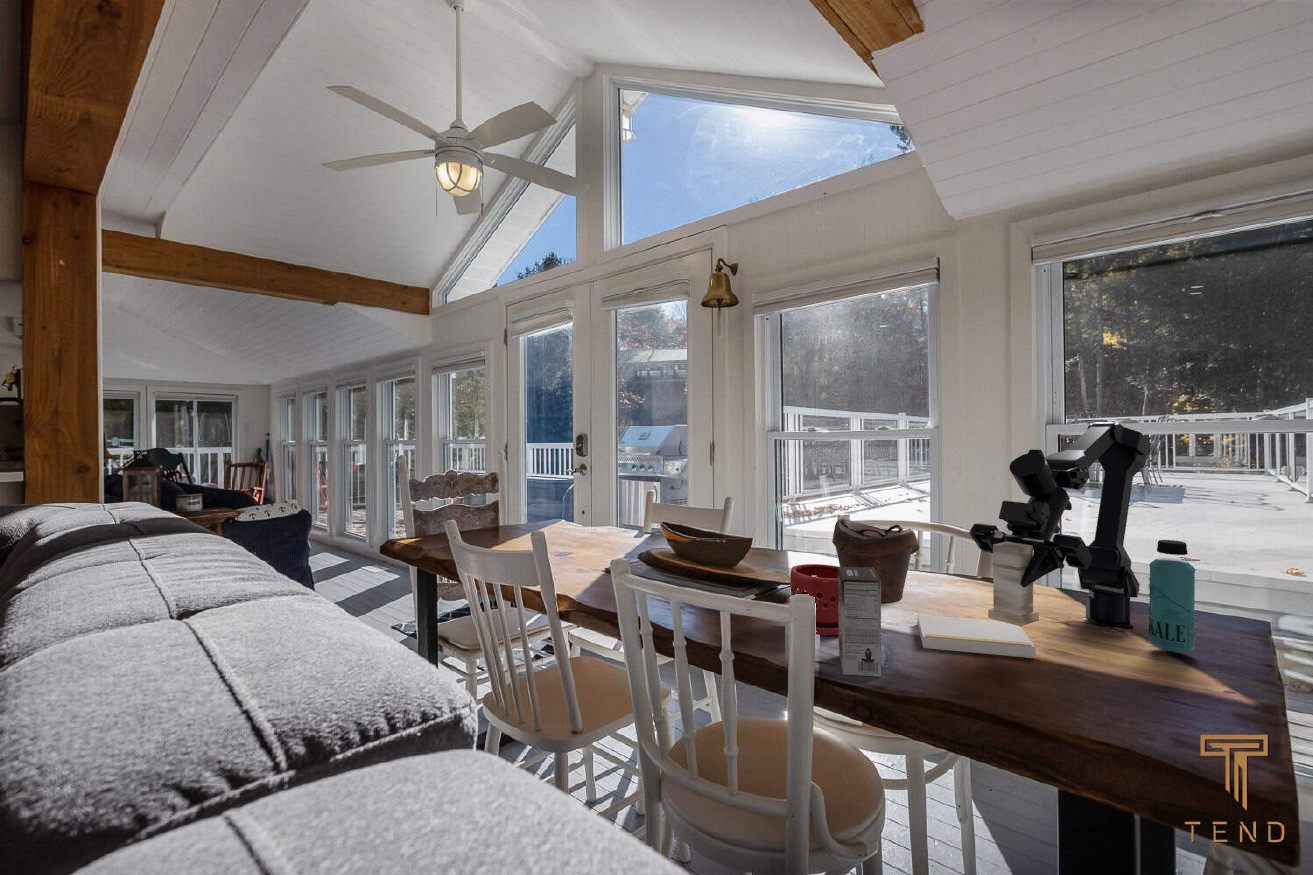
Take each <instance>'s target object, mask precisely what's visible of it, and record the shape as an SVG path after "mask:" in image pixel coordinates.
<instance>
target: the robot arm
mask: <svg viewBox="0 0 1313 875" xmlns="http://www.w3.org/2000/svg"><path fill="white" fill-rule="evenodd" d="M1087 426H1088V427H1087V430H1086V431H1085V432H1083V433H1082V434H1081V435H1080V436H1079V437H1077V439H1076V440H1074V442H1073V443H1072V444H1070V445H1069V447H1067V448H1066V449H1064V450H1063V451H1060V452H1055V453H1051V454H1049V455H1047V456H1045V455H1044V452H1043V450H1042V449H1031V448H1030V449H1029V450H1028V452H1027V453H1024V454H1022V455H1020V456H1018V457H1016V458H1015V459H1014V460H1012V461H1011V462H1010V463H1009V471H1010V473H1011V475H1012V477H1013V479H1014V480H1015V482H1016V483H1017V485H1018V487H1019V488H1020V490H1021V491H1022V493H1023V494H1024V495H1026V496H1028V497H1029V499H1028V501H1027V502H1022V501H1010V500H1003V501H1001V506H1000V509H999V515H998V519H999V520H1002V521H1004V522H1006V528H1007V530H1008V531H1011V534H1007V533H1006V532H1005V531H1002V530H999V528H998V527H997V525H995V524H988V523H979V522H978V523H974V524H973V525H972V526H971V528H970V530H969V533H968V534H969V536H971V538H972V540H973V541H974V542H975V544H976V545H977V547H978V548H979V550H981V551H983V552H984V553H990V554H993V545H994V544H998V543H1003V542H1013V543H1019V544H1026V545H1032V546H1033V557H1032V559H1031V561H1030V563H1029V565H1028V567H1027V569H1026V571H1025V573H1024V575H1023V577H1022V580H1021V585H1022V587H1027V586H1028V585H1030V584H1031V583H1033V584H1034V583H1035V582H1036V581H1037V580H1039V579H1040V578H1042V577H1044V576H1046V575H1048V574H1050V573H1052V572H1053V571H1055V570H1058V569H1061V570H1062V569H1065V564H1064V561H1065V563H1066V564H1067V565H1068V566H1069V567H1071V568H1077V574H1078V580H1079V585H1080V589H1081V590H1088V595H1086V596H1085V616H1086V618H1088V619H1089V620H1090V621H1091V622H1092V623H1094V625H1097V626H1109V627H1119V628H1120V627H1123V628H1134V627H1135V625H1134V623H1132V622H1131V598H1138V597H1139V592H1140V582H1139V581H1138V578H1137V577H1136V575H1135V573H1134V571H1133V570H1132V568H1131V567H1132V559H1131V558H1130V555H1128V553H1127V551H1126V549H1125V547H1124V543H1125V536H1126V529H1127V521H1128V515H1129V514H1128V513H1129V507H1130V501H1131V493H1132V489H1133V488H1132V486H1133V481H1134V477H1135V476H1136V475H1137V474H1138V473H1139V472H1140V471H1141V470H1142V469H1143V468H1144V467H1145V465H1146V462H1147V458H1148V455H1149V454H1150V452H1151V441H1150V439H1149V438H1148V437H1147V436H1145V435H1144V434H1143V433H1142V432H1140V431H1137V430H1135V429H1133V428H1132V429H1131V428H1128V427H1125V426H1123V424H1121V423H1117V422H1115V421H1113V422H1112V421H1110V422H1108V421H1107V422H1103V421H1101V422H1100V421H1099V422H1098V421H1097V422H1093V423H1089V425H1087ZM1096 461H1098V462H1099V464H1100V466H1101V467H1102V469H1103V471H1104V475H1103V482H1102V488H1101V494H1100V495H1101V496H1100V502H1099V509H1098V516H1097V520H1096V527H1095V533H1094V534H1095V535H1094V540H1093V541H1092V542H1090V544H1088V545H1087V544H1086V543H1085V541H1084V540H1083V538H1082V537H1081V536H1078V535H1069V534H1061V533H1060V531H1061V528H1060V526H1059V523H1060V520H1061V519H1062V517H1063V514H1064V512H1065V511H1072V509H1073V507H1072V503H1071V501H1070V499H1071V497H1070V495H1069V494H1068V492H1067V491H1066V490H1072V491H1073V490H1075V491H1078V490H1079V491H1080V490H1081V489H1083V487H1084V486H1085V484H1087V483H1088V480H1089V479H1090V478H1091V476H1090V470H1089V469H1090V467H1091V466H1092V465H1094V463H1095V462H1096ZM1053 535H1054V536H1053ZM1051 540H1052V541H1051Z"/></svg>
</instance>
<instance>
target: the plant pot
mask: <svg viewBox="0 0 1313 875" xmlns="http://www.w3.org/2000/svg"><path fill="white" fill-rule="evenodd" d="M838 567H839V566H838V565H831V564H823V563H822V564H821V563H807V564H805V563H804V564H798V565H794V566H793V567H791V569H790V576H789V577H790V579H789V580H790V581H789V582H790V587H789V588H790V597H791V596H792V595H795V594H809V595H810V596H813V597H815V603H816V631H817V632H816V634H815V635H817V636H837V635H839V619H838Z"/></svg>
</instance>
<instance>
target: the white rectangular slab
mask: <svg viewBox="0 0 1313 875" xmlns="http://www.w3.org/2000/svg"><path fill="white" fill-rule="evenodd" d="M916 620H917V628H918V633H919V636H920V640H921V645H922V648H923V649H931V650H932V649H933V650H942V651H954V652H964V653H974V654H975V653H976V654H987V655H995V656H996V655H997V656H1005V657H1007V656H1008V657H1018V658H1026V659H1036V645H1035V644H1034V643H1033V641H1032V640H1031V639H1030V637H1029V636H1028V635H1027V634H1026V632H1025V631H1024V630H1023V628H1022V626H1021V627H1020V626H1016V625H1013V624H1009V623H1005V622H1001V621H998V620H994V619H992V620H990V619H977V618H968V617H967V618H964V617H953V616H939V615H930V614H929V615H928V614H927V615H926V614H917V616H916Z"/></svg>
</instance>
